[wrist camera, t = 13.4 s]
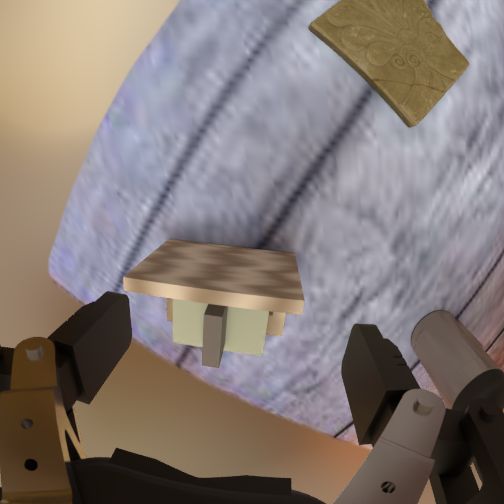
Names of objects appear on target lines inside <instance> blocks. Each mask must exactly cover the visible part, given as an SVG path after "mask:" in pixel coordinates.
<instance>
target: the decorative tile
mask: <svg viewBox="0 0 504 504" xmlns="http://www.w3.org/2000/svg"><path fill="white" fill-rule="evenodd" d="M309 30H310V31H311V32H312V33H314V34H315V35H316V36H317V37H318V38H320V39H321V40H322V41H323V42H325V43H326V44H327V45H328V46H329V47H330V48H331V49H333V50H334V51H335V52H336V53H337V54H338V55H339V56H341V57H342V58H343V59H344V60H345V61H346V62H347V63H348V64H349V65H350V66H351V67H352V68H353V69H355V70H356V71H357V72H358V73H359V74H360V75H361V76H362V77H363V78H364V79H365V80H366V81H367V82H368V83H369V84H370V85H371V86H372V87H373V88H374V89H375V90H376V91H377V92H378V94H379V95H380V96H381V97H382V98H383V99H384V100H385V101H386V102H387V103H388V104H389V105H390V107H391V108H392V109H393V110H394V111H395V112H396V113H397V114H398V116H399V117H400V118H401V119H402V120H403V121H404V123H405V124H406V125H407V126H408V127H413V126H416V125H417V124H418V123H419V122H420V121H421V120H422V119H423V118H424V117H425V116H426V115H427V113H428V112H429V111H430V110H431V109H432V108H433V107H434V106H435V105H436V103H437V102H438V101H439V100H440V99H441V98H442V97H443V96H444V94H445V93H446V92H447V90H448V89H450V88H451V86H452V85H453V84H454V83H455V82H456V81H457V80H458V78H459V77H460V76H461V75H462V73H463V72H464V71H465V70H466V68H467V67H468V66H469V62H468V61H467V59H466V58H465V57H464V56H463V55H462V53H461V52H460V51H459V50H458V49H457V48H456V47H455V45H454V44H453V43H452V42H451V41H450V40H449V38H448V37H447V36H446V34H445V32H444V30H443V28H442V26H441V25H440V24H439V23H438V22H437V21H436V20H435V19H434V18H433V17H432V13H431V10H430V9H429V8H428V6H427V4H426V2H425V1H424V0H341V1H340V2H339V3H337V4H335V5H334V6H332V7H331V8H330V9H329V10H328V11H326V12H325V13H324V14H323V15H321V16H320V17H318V18H317V19H316V20H314V21H313V22H312V23H311V24H310V26H309Z"/></svg>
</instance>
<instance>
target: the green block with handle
mask: <svg viewBox="0 0 504 504" xmlns="http://www.w3.org/2000/svg"><path fill="white" fill-rule="evenodd" d="M268 315H269V311H262V310H253V309H245V308H237V307H229V306H221V305H214V304H206V303H199V302H192V301H186V300H179V299H173V342H175V343H181V344H186V345H192V346H198V347H203V348H202V365H204V366H210V367H216V368H219V365H220V361H221V358H222V354H223V351H230V352H237V353H245V354H253V355H261V356H262V354H263V347H264V341H265V335H266V328H267V322H268Z"/></svg>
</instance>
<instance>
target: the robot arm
mask: <svg viewBox="0 0 504 504" xmlns="http://www.w3.org/2000/svg"><path fill="white" fill-rule="evenodd" d="M131 338H132V328H131V318H130V306H129V298H128V296H127V295H125V294H120V293H115V292H109V291H107V292H106V293H104V294H103V295H102V296H101V297H100V298H99V299H98V300H97V301H95V302H92V303H89V304H87V305H85V306H83V307H81V308H80V309H79V310H78V311H77V312H76V313H75V314H74V315H72V316H71V317H70V318H69V319H68V321H65V322H64V323H63V324H62V325H61V326H60V327H59V328H58V329H56V331H54V332H53V333H52V334H51V335H50V336H49V337H48V338H44V337H31V338H28V339H25V340H23V341H21V342H20V343H19V344H18V345H17V346H16V347H15V348H8V347H1V346H0V474H1V485H2V487H0V504H326V503H324V502H322V501H320V500H319V499H317V498H315V497H312V496H310V495H308V494H305V493H302V492H299V491H295V490H291V478H274V477H259V476H248V475H244V476H232V477H215V478H197V477H194V476H192V475H189V474H187V473H184V472H182V471H180V470H178V469H175V468H173V467H171V466H169V465H167V464H165V463H163V462H160V461H158V460H156V459H153V458H150V457H146V456H142V455H139V454H135V453H132V452H128V451H125V450H122V449H119V448H116V449H115V451H114V453H113V455H112V457H111V458H109V457H94V458H87V456H86V454H85V450H84V447H83V443H82V439H81V435H80V431H79V426H78V422H77V417H76V412H75V409H74V406H73V405H74V403H75V402H76V400H78V401H81V402H84V403H86V404H90V403H91V401H92V400H93V398H94V397H95V395H96V394H97V392H98V391H99V389H100V388H101V386H102V385H103V384H104V382H105V381H106V379H107V378H108V376H109V375H110V373H111V372H112V371H113V369H114V368H115V366H116V365H117V363H118V362H119V360H120V359H121V358H122V356H123V355H124V353H125V352H126V351H127V349H128V348H129V346H130V343H131ZM411 346H412V348H413V350H414V352H415V353H416V355H417V357H418V358H419V360H420V362H421V363H422V365H423V366H424V368H425V370H426V371H427V373H428V375H429V376H430V378H431V380H432V381H433V383H434V385H435V386H436V388H437V390H438V391H439V393H440V395H441V397H442V398H443V400H444V402H445V403H446V405H447V407H448V409H446V408H445V404H444V402H443V401H442V400H441V398H440V397H439V396H437V395H436V394H434V393H433V392H430V391H428V390H424V389H420V387H419V385H418V383H417V381H416V379H415V377H414V376H413V374H412V372H411V370H410V368H409V367H408V366H407V363H406V361H405V359H404V358H402V357H403V356H402V354H401V352H400V351H399V349H398V347H397V346H396V345H394V344H393V343H392V342H391V341H390V340H388V339H384V338H383V337H382V335H381V333H380V331H379V329H378V327H377V326H376V325H373V324H354V326H353V328H352V330H351V334H350V337H349V341H348V344H347V347H346V351H345V354H344V357H343V361H342V369H341V373H342V379H343V382H344V386H345V390H346V394H347V397H348V401H349V405H350V409H351V413H352V417H353V421H354V425H355V429H356V434H357V438H358V442H359V445H363V444H372V447H373V449H372V450H371V452H370V453H369V455H368V457H367V458H366V460H365V461H364V463H363V464H362V466H361V467H360V468H359V470H358V471H357V473H356V474H355V476H354V477H353V478H352V480H351V481H350V483H349V484H348V485H347V487H346V488H345V489H344V491H343V492H342V493H341V495H340V496H339V497H338V499H337V500H336V501H335V502H334V503H333V504H418V502H419V499H420V497H421V495H422V493H423V490H424V488H425V486H426V483H427V481H428V479H430V482H431V486H432V489H433V493H434V497H435V501H436V504H504V413H503V411H502V410H503V408H504V372H503V371H502V370H501V369H500V368H499V367H498V365H497V364H496V363H495V362H494V361H493V360H492V359H491V357H490V356H489V355H488V354H487V353H486V352H485V351H484V349H483V345H482V344H481V343H480V342H479V341H478V340H477V339H476V338H475V337H474V336H473V334H472V333H471V332H470V331H469V330H468V329H467V328H466V327H465V326H464V325H463V324H462V323H461V322H460V321H459V320H458V319H455V318H454V317H453V316H452V315H451V314H450V313H449V312H446V311H435V312H432V313H430V314H429V315H427V316H425V317H424V318H423V319H422V320H421V321H420V322H419V323H418V324H417V326H416V327H415V329H414V331H413V333H412V337H411ZM472 462H473V463H474V466H475V468H476V471H477V473H478V475H479V478H480V480H481V481H482V483H483V484H482V487H481V489H480V491H479V488H478V485H477V483H476V480H475V477H474V475H473V472H472V470H471V467H470V465H471V463H472Z"/></svg>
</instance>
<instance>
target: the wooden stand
mask: <svg viewBox="0 0 504 504" xmlns="http://www.w3.org/2000/svg"><path fill="white" fill-rule="evenodd" d="M123 280H124V291H130V292H136V293H142V294H147V295H154V296H160V297H166V298H167V321H172V322H173V299H179V300H186V301H192V302H199V303H206V304H214V305H221V306H229V307H237V308H245V309H253V310H262V311H269V315H268V322H267V328H266V335H276V336H282V333H283V328H284V322H285V316H286V313H290V314H300V315H302V311H303V306H304V296H303V291H302V286H301V282H300V277H299V272H298V267H297V263H296V258H295V253H287V252H278V251H270V250H261V249H252V248H243V247H235V246H226V245H217V244H208V243H199V242H190V241H181V240H172V239H169V240H167V241H166V242H165V243H164V244H162V245H161V246H160V247H159V248H158V249H156V250H155V251H154V252H153V253H151V254H150V255H149V256H148V257H147V258H145V259H144V260H143V261H142V262H141V263H139V264H138V265H137V266H136V267H135V268H133V269H132V270H131V271H130V272H129V273H127V274H126V275H125V276H124V277H123Z"/></svg>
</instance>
